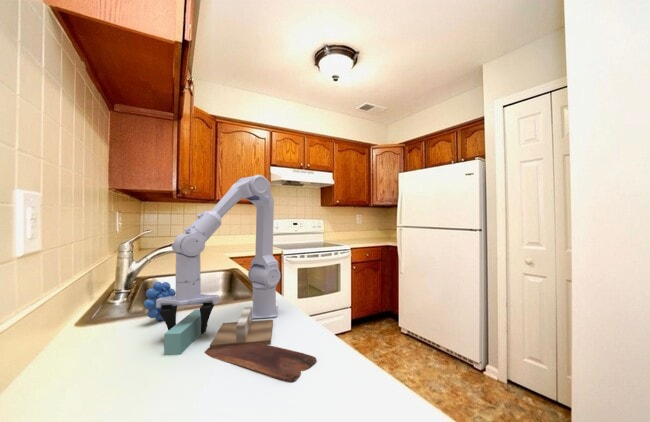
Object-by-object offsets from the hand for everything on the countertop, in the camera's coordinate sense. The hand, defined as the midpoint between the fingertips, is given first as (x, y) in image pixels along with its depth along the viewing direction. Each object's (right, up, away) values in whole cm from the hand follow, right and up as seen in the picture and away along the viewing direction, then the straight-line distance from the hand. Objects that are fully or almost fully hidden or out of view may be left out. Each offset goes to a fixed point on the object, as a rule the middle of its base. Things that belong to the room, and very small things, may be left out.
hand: (188, 333), depth 69 cm
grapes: (-14, -2, +13) cm, 19 cm away
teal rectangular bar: (0, -2, 0) cm, 2 cm away
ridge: (+14, -1, +2) cm, 14 cm away
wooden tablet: (+20, -2, -9) cm, 22 cm away
